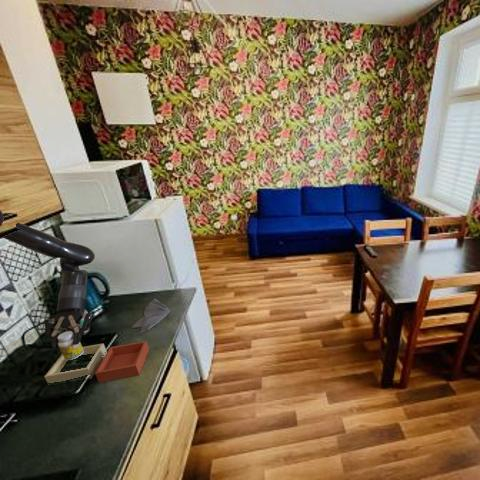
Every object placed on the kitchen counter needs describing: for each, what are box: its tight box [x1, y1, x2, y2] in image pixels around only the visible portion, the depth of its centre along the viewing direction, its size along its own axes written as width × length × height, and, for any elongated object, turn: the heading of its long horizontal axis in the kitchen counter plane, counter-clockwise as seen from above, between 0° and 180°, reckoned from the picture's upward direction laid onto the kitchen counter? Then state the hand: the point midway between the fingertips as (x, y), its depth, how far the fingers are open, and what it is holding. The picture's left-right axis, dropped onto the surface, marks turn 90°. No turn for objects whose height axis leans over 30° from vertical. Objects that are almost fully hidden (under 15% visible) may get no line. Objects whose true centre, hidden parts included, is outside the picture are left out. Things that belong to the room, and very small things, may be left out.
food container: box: [64, 308, 91, 336], centre depth 118 cm, size 12×6×10 cm, turn 80°
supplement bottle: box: [58, 331, 84, 360], centre depth 96 cm, size 5×5×10 cm
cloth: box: [131, 297, 171, 334], centre depth 129 cm, size 26×14×2 cm, turn 12°
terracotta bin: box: [94, 340, 150, 384], centre depth 101 cm, size 13×13×5 cm
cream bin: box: [44, 343, 108, 384], centre depth 99 cm, size 13×13×5 cm
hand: (65, 345), depth 94 cm, fingers closed on supplement bottle, 5 cm apart
